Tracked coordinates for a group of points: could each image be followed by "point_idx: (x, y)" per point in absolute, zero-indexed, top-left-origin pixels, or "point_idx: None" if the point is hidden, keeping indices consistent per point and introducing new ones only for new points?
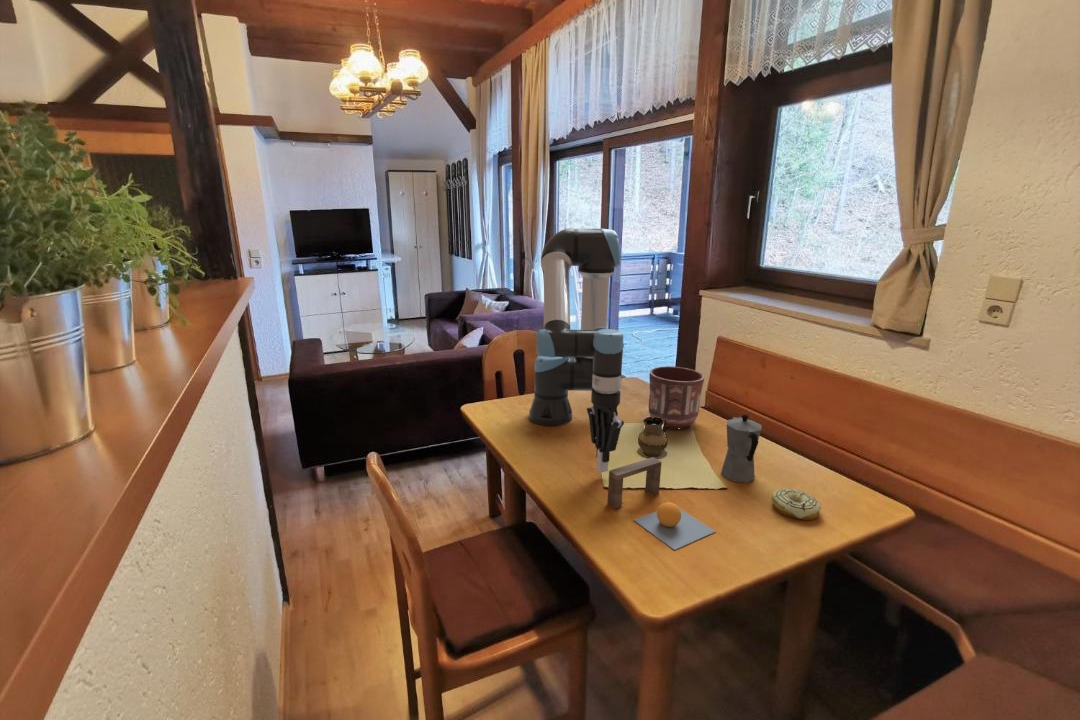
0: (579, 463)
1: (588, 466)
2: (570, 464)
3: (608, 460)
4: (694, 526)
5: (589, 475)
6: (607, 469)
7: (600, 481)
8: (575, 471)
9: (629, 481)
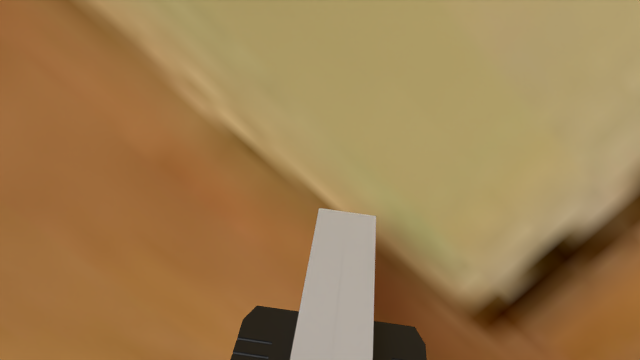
0: (26, 188)
1: (114, 167)
2: (11, 255)
3: (423, 354)
4: None
5: (255, 269)
6: (375, 228)
7: (390, 273)
8: (138, 302)
9: (587, 79)
